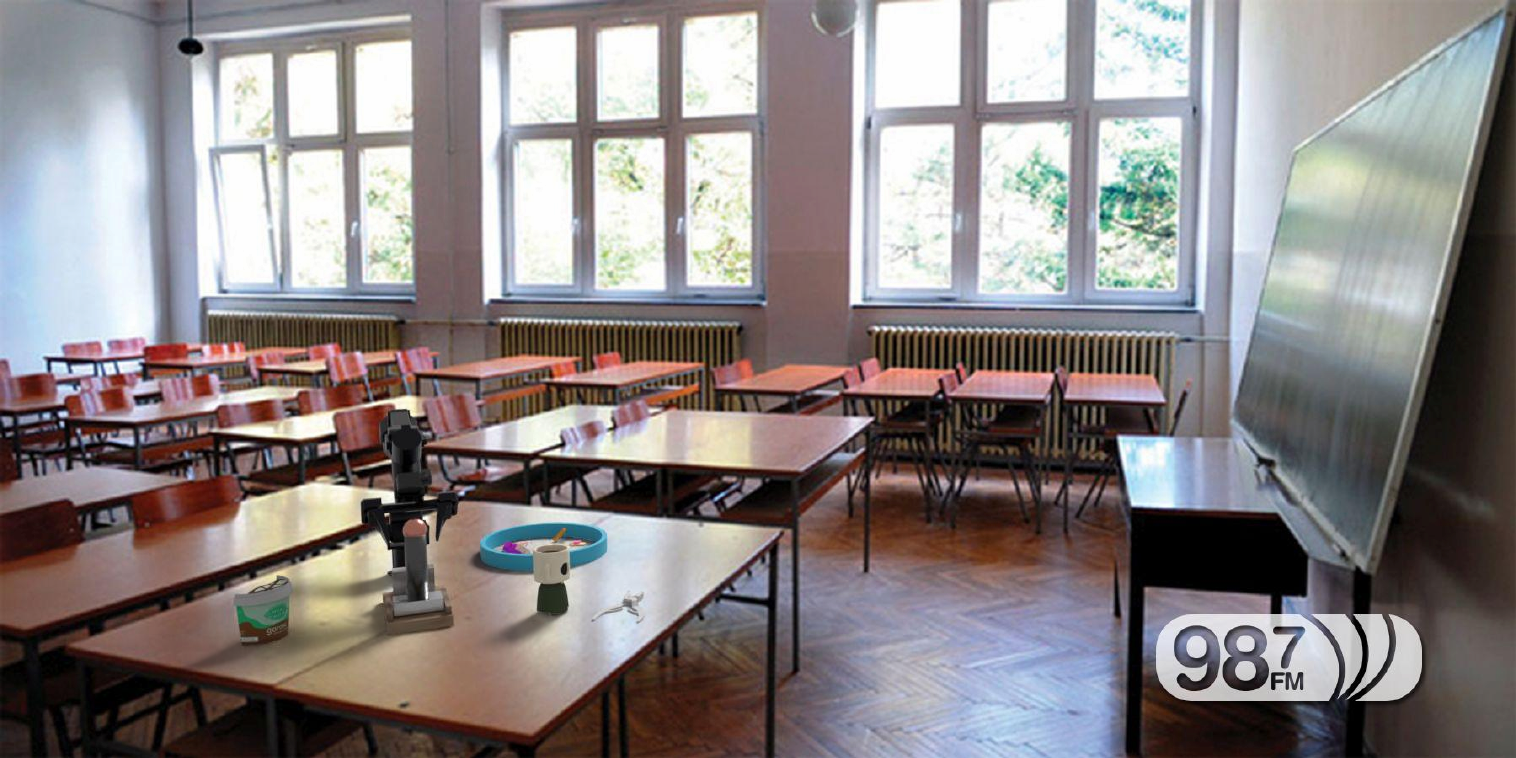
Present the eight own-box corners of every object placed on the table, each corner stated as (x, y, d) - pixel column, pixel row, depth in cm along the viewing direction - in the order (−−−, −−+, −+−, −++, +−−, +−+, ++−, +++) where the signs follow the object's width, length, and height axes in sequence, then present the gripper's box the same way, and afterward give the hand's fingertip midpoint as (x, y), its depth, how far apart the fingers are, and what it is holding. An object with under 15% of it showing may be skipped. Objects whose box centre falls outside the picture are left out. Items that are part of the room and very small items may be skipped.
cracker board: (383, 602, 203) (381, 568, 202) (443, 594, 207) (442, 562, 206) (387, 634, 184) (385, 598, 183) (453, 625, 189) (452, 590, 188)
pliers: (590, 614, 191) (612, 589, 206) (591, 622, 191) (612, 597, 206) (640, 616, 190) (658, 591, 204) (640, 624, 190) (658, 599, 205)
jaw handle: (393, 608, 192) (388, 517, 190) (441, 602, 195) (437, 512, 193) (394, 616, 187) (390, 523, 185) (443, 610, 191) (440, 518, 189)
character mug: (566, 621, 191) (564, 556, 189) (529, 621, 191) (527, 556, 189) (575, 602, 202) (573, 540, 200) (540, 603, 201) (538, 541, 200)
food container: (265, 651, 177) (262, 597, 176) (235, 648, 178) (232, 594, 177) (309, 626, 189) (307, 576, 188) (281, 624, 190) (278, 574, 189)
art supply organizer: (454, 564, 230) (453, 540, 229) (527, 532, 258) (527, 510, 257) (565, 578, 219) (564, 552, 219) (629, 543, 247) (628, 520, 246)
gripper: (358, 459, 196) (362, 526, 187) (455, 452, 204) (463, 516, 195) (359, 490, 204) (363, 556, 195) (453, 482, 212) (460, 545, 203)
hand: (413, 542), depth 197 cm, fingers open, 9 cm apart
